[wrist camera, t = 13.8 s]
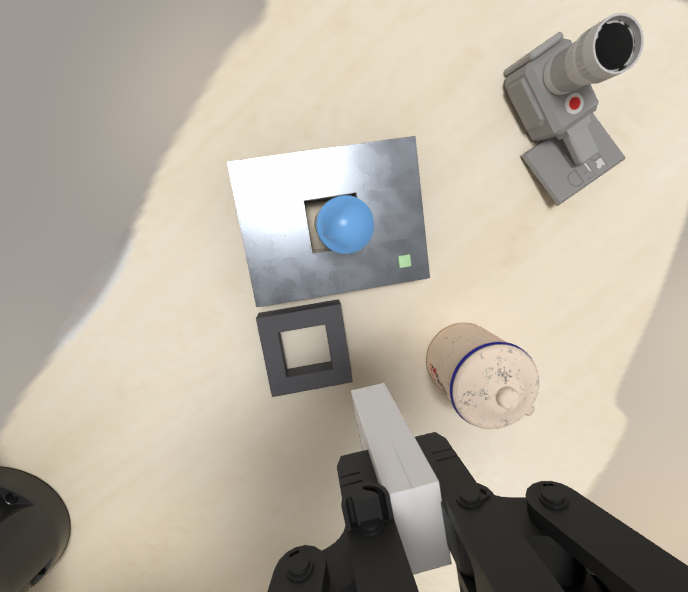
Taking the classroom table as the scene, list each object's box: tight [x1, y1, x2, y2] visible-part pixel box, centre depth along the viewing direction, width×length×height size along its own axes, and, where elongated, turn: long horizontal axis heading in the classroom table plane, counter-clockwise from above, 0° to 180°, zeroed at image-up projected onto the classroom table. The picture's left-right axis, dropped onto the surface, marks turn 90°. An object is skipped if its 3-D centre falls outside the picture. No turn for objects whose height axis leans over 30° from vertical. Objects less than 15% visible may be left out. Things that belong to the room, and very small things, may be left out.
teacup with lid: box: [427, 323, 539, 429], centre depth 41 cm, size 12×9×12 cm
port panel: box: [227, 136, 430, 307], centre depth 40 cm, size 18×14×4 cm
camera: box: [504, 13, 643, 206], centre depth 37 cm, size 9×12×15 cm
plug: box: [314, 195, 374, 254], centre depth 35 cm, size 4×4×14 cm
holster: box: [256, 300, 353, 397], centre depth 43 cm, size 9×9×2 cm
